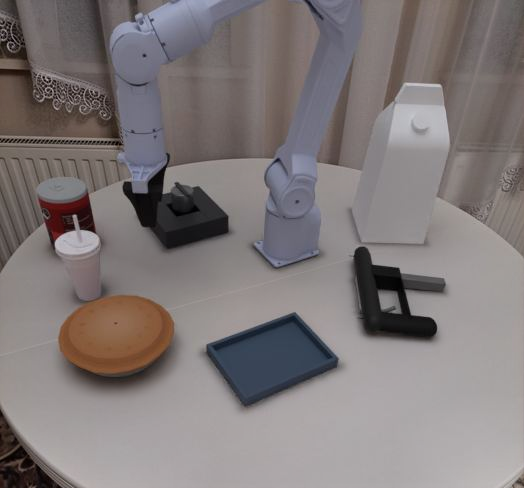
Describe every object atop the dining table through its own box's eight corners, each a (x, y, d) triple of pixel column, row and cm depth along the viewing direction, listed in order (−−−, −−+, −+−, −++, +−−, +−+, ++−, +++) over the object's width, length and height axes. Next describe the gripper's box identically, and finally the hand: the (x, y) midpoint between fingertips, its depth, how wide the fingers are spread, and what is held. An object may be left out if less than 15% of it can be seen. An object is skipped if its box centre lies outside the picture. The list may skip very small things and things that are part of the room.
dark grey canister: (187, 215, 99) (186, 179, 94) (199, 228, 96) (198, 192, 91) (168, 219, 97) (165, 184, 92) (180, 233, 94) (177, 197, 89)
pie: (81, 310, 78) (74, 284, 74) (182, 316, 78) (180, 290, 75) (48, 386, 67) (38, 360, 64) (166, 393, 67) (162, 368, 64)
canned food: (62, 230, 93) (47, 173, 85) (105, 236, 92) (94, 179, 84) (44, 254, 87) (26, 196, 79) (89, 260, 87) (76, 202, 79)
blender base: (199, 201, 103) (198, 185, 100) (228, 232, 95) (228, 215, 93) (140, 215, 98) (138, 199, 95) (167, 249, 90) (165, 232, 88)
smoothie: (100, 309, 78) (82, 230, 68) (61, 302, 79) (37, 223, 69) (116, 284, 83) (102, 207, 73) (79, 278, 83) (60, 200, 73)
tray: (294, 319, 79) (295, 311, 78) (337, 366, 73) (339, 358, 71) (206, 352, 73) (206, 344, 72) (244, 406, 67) (245, 398, 65)
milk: (409, 212, 104) (449, 74, 86) (423, 243, 96) (471, 99, 78) (351, 210, 104) (379, 71, 85) (361, 242, 96) (394, 96, 77)
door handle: (438, 254, 90) (349, 243, 89) (466, 332, 76) (360, 320, 75) (431, 269, 92) (344, 259, 91) (457, 347, 78) (354, 336, 77)
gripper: (121, 104, 76) (133, 189, 85) (102, 147, 65) (118, 237, 75) (169, 106, 76) (175, 190, 86) (158, 149, 66) (166, 239, 75)
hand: (152, 212), depth 80 cm, fingers open, 7 cm apart
